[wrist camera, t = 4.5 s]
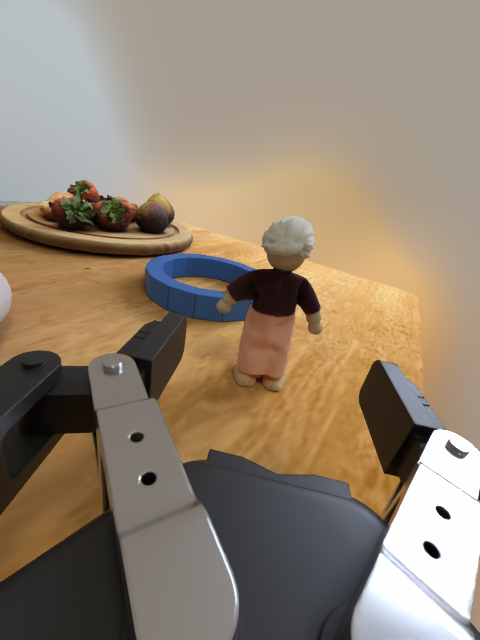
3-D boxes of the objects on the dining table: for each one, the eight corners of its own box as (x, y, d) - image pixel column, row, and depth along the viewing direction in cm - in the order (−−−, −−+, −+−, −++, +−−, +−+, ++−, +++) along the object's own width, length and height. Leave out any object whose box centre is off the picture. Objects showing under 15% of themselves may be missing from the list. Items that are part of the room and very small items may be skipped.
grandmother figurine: (290, 365, 26) (337, 221, 20) (304, 395, 23) (364, 232, 17) (205, 359, 24) (230, 201, 19) (206, 390, 21) (237, 208, 16)
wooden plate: (14, 207, 59) (8, 162, 56) (168, 222, 75) (170, 188, 71) (-20, 253, 35) (-36, 179, 32) (216, 262, 51) (224, 213, 47)
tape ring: (117, 294, 32) (117, 270, 31) (182, 265, 46) (184, 247, 45) (248, 336, 29) (253, 311, 28) (276, 291, 43) (281, 273, 42)
